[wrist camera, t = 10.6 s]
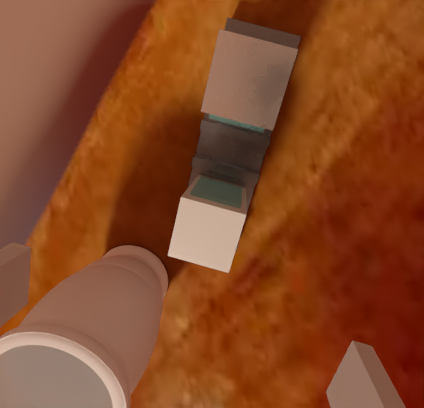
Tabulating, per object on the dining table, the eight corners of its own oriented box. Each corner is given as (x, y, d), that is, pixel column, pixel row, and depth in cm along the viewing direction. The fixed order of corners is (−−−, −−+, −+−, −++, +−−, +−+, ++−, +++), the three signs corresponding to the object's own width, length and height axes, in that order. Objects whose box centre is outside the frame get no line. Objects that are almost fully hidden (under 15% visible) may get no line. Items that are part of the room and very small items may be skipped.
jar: (146, 331, 35) (79, 477, 21) (74, 283, 34) (-47, 402, 20) (196, 271, 32) (157, 395, 18) (118, 216, 31) (11, 301, 17)
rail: (228, 24, 25) (219, -33, 15) (296, 42, 25) (329, -5, 15) (179, 232, 31) (150, 284, 21) (233, 247, 31) (229, 306, 21)
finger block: (199, 171, 27) (181, 192, 19) (246, 183, 27) (247, 210, 19) (188, 218, 28) (167, 255, 20) (232, 230, 28) (228, 272, 20)
